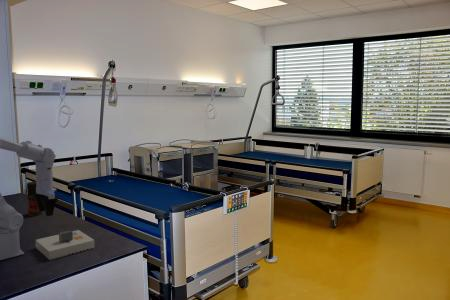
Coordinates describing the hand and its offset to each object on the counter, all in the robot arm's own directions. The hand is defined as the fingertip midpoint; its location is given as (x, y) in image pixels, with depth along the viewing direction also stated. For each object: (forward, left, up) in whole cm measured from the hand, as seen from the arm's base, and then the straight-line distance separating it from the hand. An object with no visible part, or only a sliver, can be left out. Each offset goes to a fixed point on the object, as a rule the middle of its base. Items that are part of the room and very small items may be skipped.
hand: (46, 213), depth 145 cm
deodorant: (+7, +36, -11) cm, 38 cm away
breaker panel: (+2, -13, -10) cm, 17 cm away
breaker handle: (+2, -14, -7) cm, 16 cm away
